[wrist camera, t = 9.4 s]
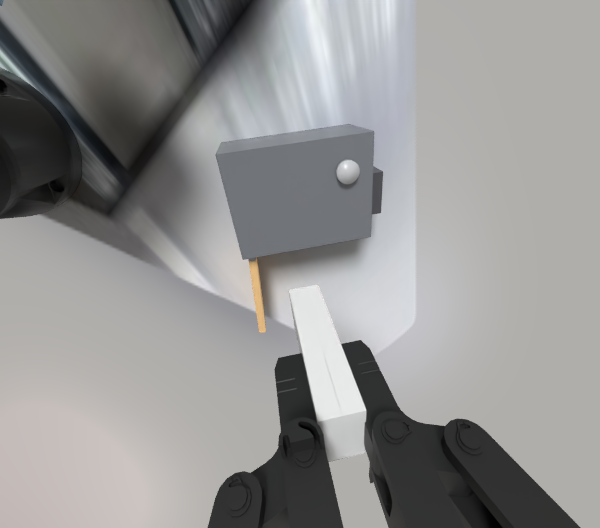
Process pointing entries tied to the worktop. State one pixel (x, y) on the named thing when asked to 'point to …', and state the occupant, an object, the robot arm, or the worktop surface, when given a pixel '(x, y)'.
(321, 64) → the worktop surface
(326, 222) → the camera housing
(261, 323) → the side door
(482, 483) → the robot arm
